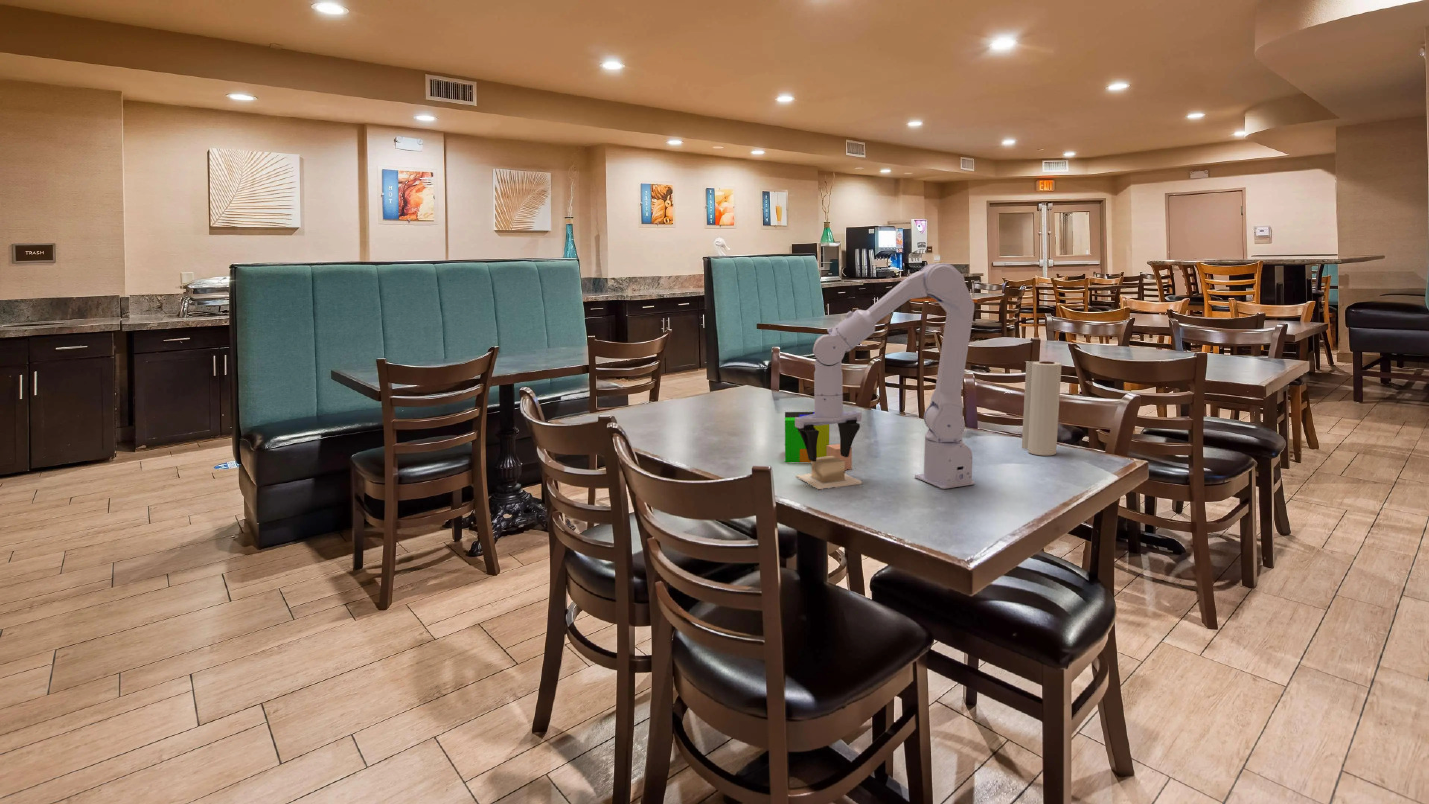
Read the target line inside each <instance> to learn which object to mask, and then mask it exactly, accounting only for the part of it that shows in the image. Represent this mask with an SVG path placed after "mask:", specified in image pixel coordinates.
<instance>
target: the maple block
mask: <svg viewBox="0 0 1429 804" xmlns="http://www.w3.org/2000/svg"><path fill="white" fill-rule="evenodd" d="M845 472H846V470H845V461H843V460H841V459H839V458H836V457H834V456H826V457H818V458H816V461H815V462H813V461H812V463H811V473H812V477H813V478H815V479H817V480H819V481H821V482H822V483H826V482H833V481H840V480H845V474H846V473H845Z"/></svg>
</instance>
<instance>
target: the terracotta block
mask: <svg viewBox="0 0 1429 804" xmlns="http://www.w3.org/2000/svg"><path fill="white" fill-rule="evenodd" d="M852 454H853V447H852V446H851V449H850V453H849V457H844V456H842V455H841V453H840V443H836V444H829V445H827V456H834V457H836V458H839V459H841V460H843V461H845V471H848V470H847V469H850V470H852V467H853V466H852V464H853V460H852V458H853V457H852V456H853V455H852Z"/></svg>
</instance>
